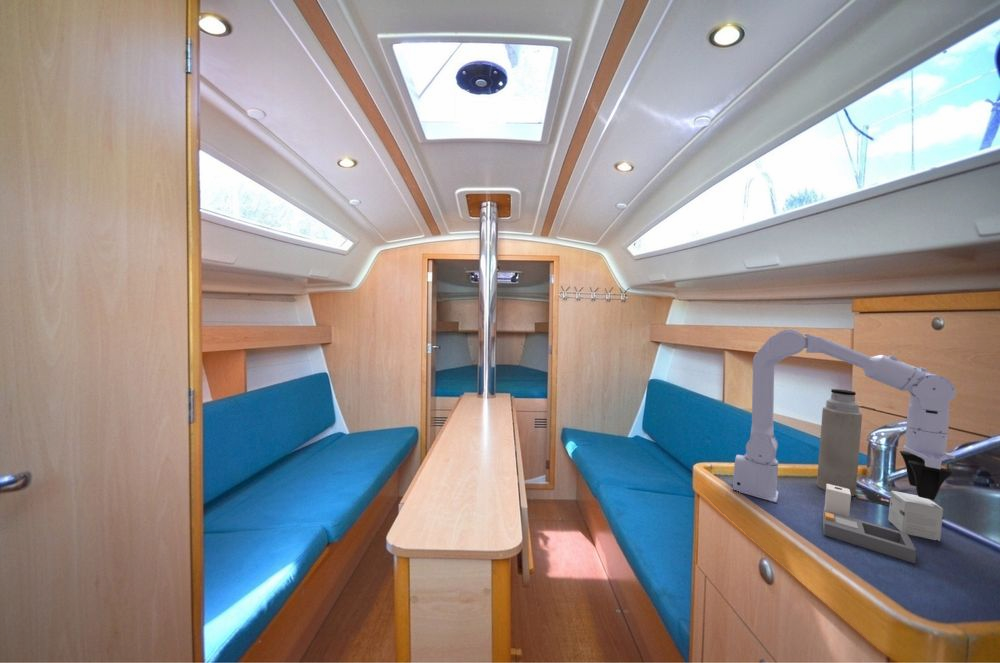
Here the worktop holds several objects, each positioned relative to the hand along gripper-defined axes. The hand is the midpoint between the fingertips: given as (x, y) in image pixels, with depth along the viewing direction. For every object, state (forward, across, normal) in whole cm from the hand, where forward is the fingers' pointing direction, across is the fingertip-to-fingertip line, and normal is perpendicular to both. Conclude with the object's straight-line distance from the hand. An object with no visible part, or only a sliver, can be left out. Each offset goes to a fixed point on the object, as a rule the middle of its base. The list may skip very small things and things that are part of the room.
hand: (921, 492), depth 77 cm
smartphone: (+11, +21, +1) cm, 24 cm away
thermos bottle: (+10, +20, +12) cm, 25 cm away
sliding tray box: (+10, -10, +9) cm, 17 cm away
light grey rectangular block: (+10, -2, +13) cm, 17 cm away
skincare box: (+10, +4, 0) cm, 11 cm away
